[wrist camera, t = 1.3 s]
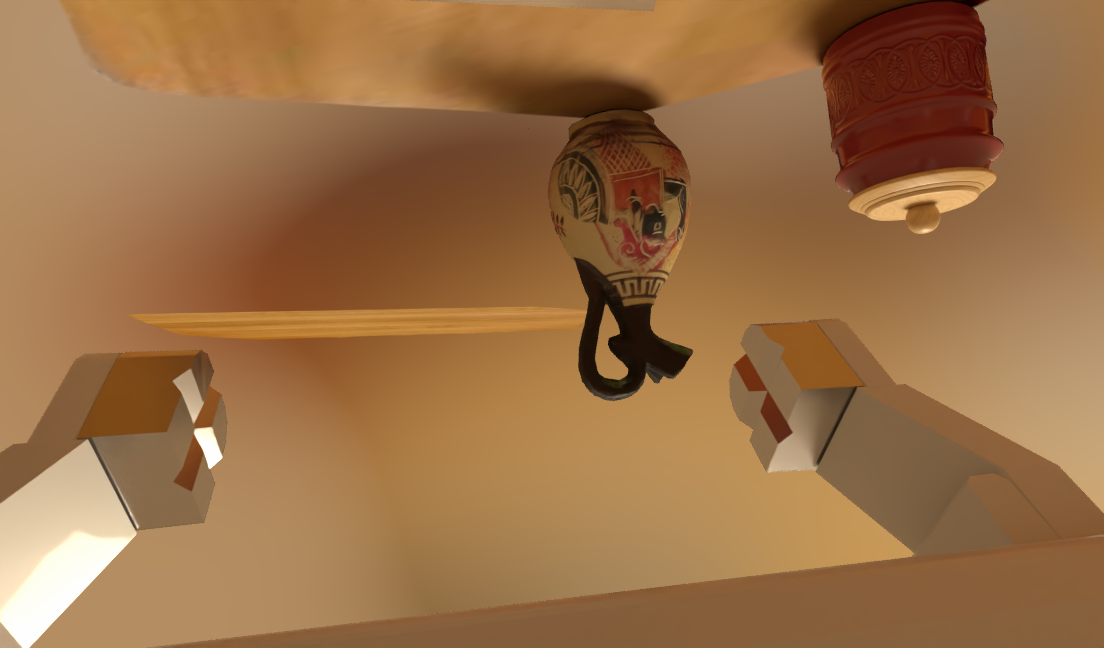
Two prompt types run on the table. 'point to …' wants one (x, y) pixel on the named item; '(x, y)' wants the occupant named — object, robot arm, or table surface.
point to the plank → (570, 3)
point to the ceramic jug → (622, 237)
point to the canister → (912, 113)
